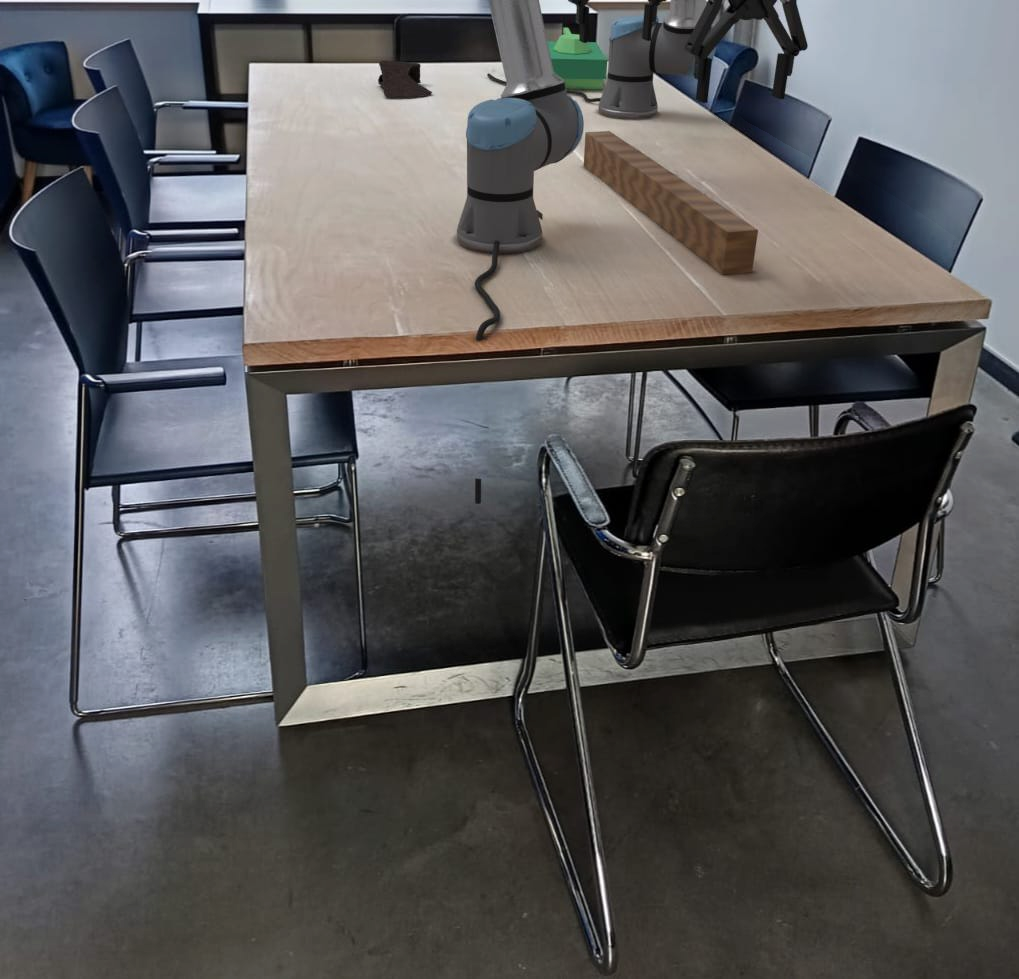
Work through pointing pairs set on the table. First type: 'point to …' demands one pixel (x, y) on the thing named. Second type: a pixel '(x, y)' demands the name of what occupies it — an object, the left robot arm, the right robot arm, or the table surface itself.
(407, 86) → the axe head
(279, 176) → the table surface
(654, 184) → the post
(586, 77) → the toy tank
